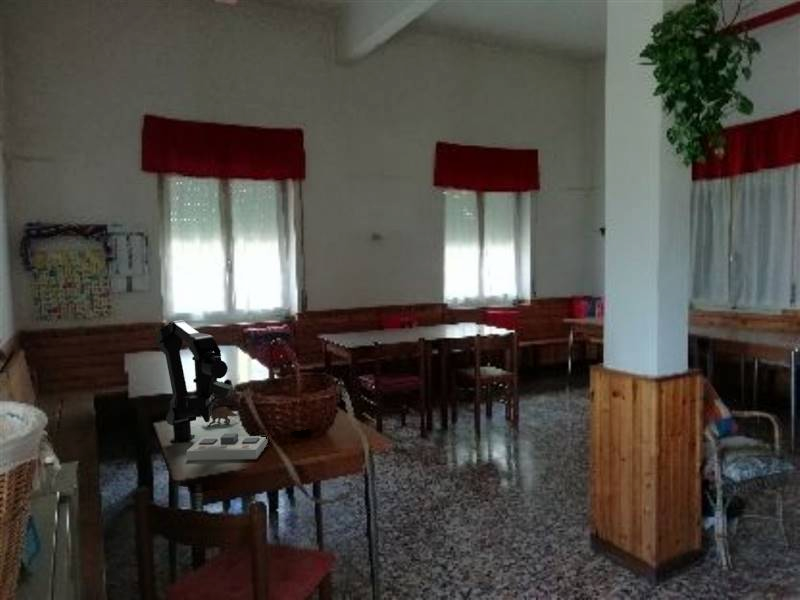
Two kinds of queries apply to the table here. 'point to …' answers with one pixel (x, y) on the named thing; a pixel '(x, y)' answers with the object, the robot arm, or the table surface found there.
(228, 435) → the middle button
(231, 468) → the table surface
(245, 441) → the button
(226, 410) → the dinosaur figurine
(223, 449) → the button panel
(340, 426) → the table surface
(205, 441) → the button
